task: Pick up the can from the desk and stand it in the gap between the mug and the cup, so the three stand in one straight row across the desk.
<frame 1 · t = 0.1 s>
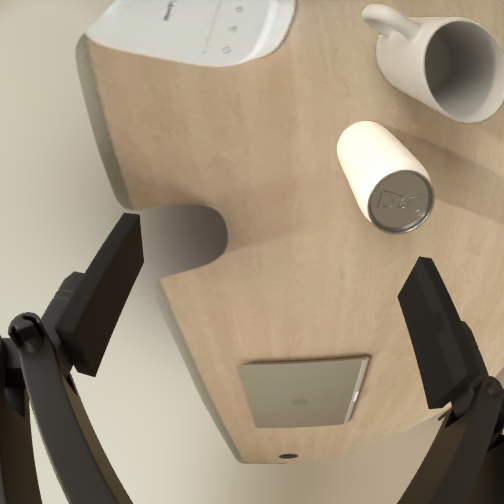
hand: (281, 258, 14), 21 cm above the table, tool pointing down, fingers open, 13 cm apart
can: (364, 147, 32), on the table
mug: (399, 46, 24), on the table
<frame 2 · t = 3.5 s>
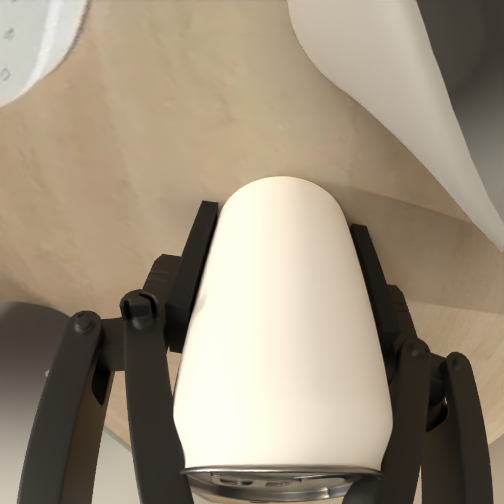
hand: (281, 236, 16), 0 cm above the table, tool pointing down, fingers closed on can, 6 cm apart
can: (281, 228, 16), on the table, touching gripper
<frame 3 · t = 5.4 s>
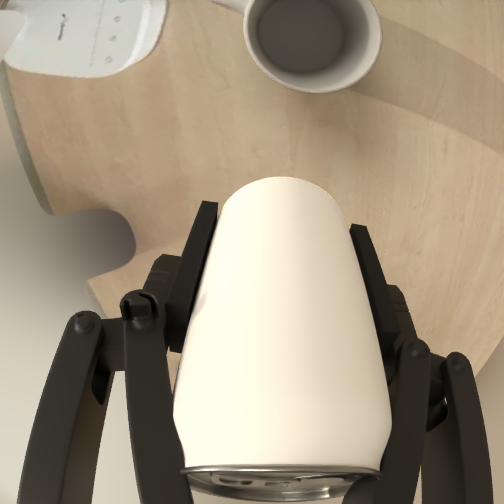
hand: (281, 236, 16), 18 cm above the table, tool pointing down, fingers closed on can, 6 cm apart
can: (281, 229, 16), point 17 cm above the table, touching gripper
mug: (282, 25, 23), on the table
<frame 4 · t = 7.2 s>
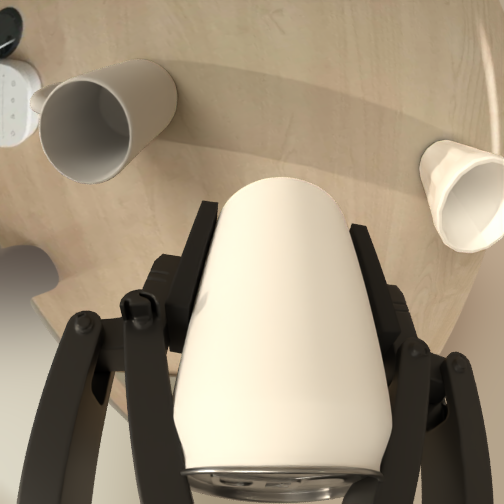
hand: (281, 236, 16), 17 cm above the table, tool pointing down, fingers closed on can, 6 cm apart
can: (281, 229, 16), point 17 cm above the table, touching gripper
mug: (123, 93, 28), on the table
cup: (441, 164, 30), on the table
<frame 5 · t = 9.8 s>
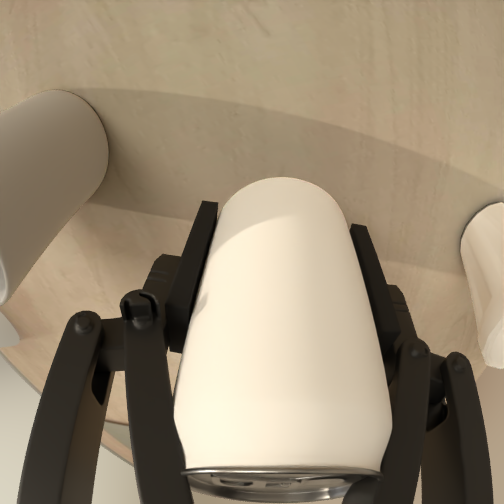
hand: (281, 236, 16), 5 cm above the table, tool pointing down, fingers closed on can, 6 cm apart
can: (281, 229, 16), point 4 cm above the table, touching gripper
mug: (42, 139, 18), on the table
cup: (488, 232, 20), on the table
when the fingers open (0 cm above the table, at t = 11.3 s): can stays where it is, on the table.
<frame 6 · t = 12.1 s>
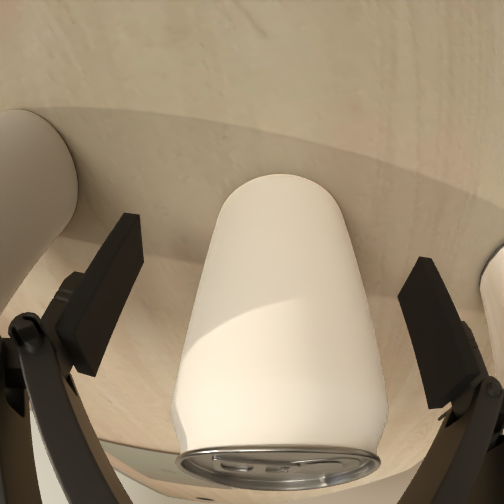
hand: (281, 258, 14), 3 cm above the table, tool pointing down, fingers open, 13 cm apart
can: (280, 225, 17), on the table
mug: (7, 165, 15), on the table
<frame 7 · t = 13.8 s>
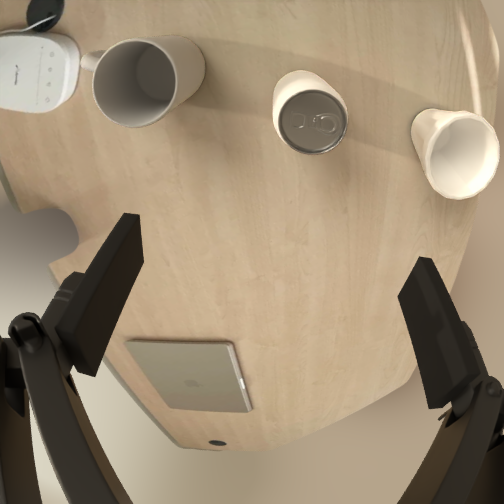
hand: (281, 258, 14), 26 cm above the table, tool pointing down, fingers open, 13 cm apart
can: (301, 96, 33), on the table
mug: (157, 64, 32), on the table
cup: (430, 130, 34), on the table
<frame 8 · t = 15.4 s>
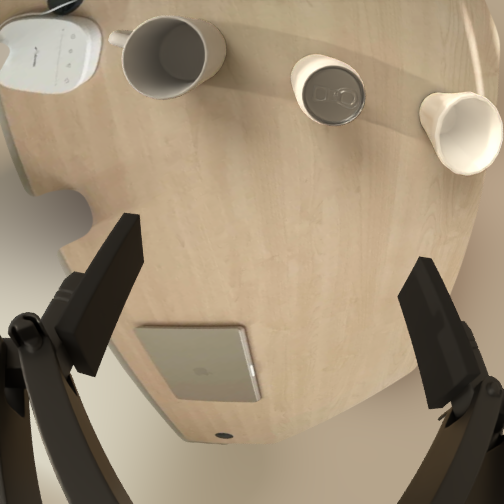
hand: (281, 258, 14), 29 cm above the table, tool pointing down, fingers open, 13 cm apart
can: (317, 78, 34), on the table
mug: (179, 46, 32), on the table
cup: (437, 113, 35), on the table
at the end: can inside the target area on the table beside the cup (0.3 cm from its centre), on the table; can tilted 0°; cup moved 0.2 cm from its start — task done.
